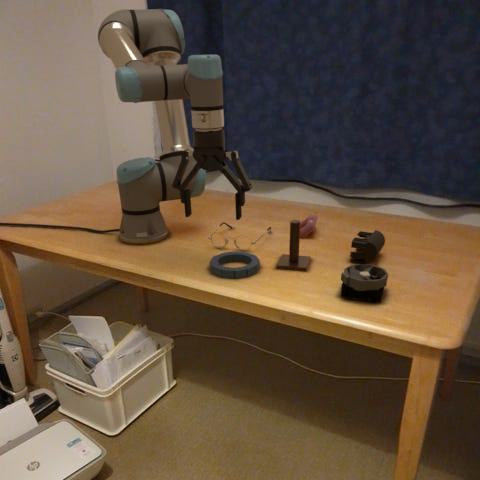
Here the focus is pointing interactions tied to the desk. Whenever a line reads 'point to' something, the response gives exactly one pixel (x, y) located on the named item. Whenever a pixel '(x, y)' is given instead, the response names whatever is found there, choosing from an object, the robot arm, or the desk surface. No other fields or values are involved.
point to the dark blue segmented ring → (238, 271)
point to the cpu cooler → (363, 282)
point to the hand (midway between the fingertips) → (213, 217)
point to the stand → (294, 251)
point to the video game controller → (308, 225)
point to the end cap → (367, 247)
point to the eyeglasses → (234, 238)
